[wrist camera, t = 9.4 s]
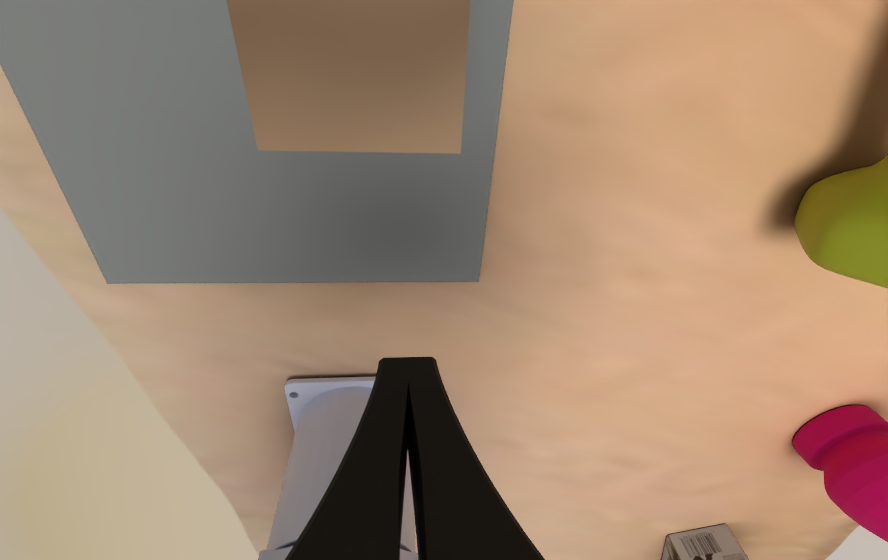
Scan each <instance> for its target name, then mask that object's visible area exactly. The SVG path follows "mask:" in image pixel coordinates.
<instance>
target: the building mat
mask: <svg viewBox="0 0 888 560" xmlns="http://www.w3.org/2000/svg"><path fill="white" fill-rule="evenodd" d="M512 7H513V0H470V13H469V29H468V45H467V61H466V76H465V92H464V108H463V124H462V139H461V154H457V153H393V152H328V151H263V150H258V148H257V144H256V139H255V134H254V129H253V125H252V120H251V115H250V110H249V106H248V101H247V96H246V91H245V87H244V82H243V77H242V72H241V68H240V63H239V58H238V53H237V49H236V44H235V39H234V34H233V29H232V25H231V20H230V15H229V10H228V6H227V1H226V0H0V64H1V67H2V69H3V71H4V73H5V75H6V77H7V79H8V81H9V83H10V85H11V87H12V89H13V91H14V93H15V95H16V97H17V99H18V101H19V103H20V106H21V108H22V110H23V112H24V114H25V116H26V118H27V120H28V122H29V124H30V126H31V128H32V130H33V132H34V134H35V136H36V138H37V140H38V142H39V145H40V147H41V149H42V151H43V153H44V155H45V157H46V159H47V161H48V163H49V165H50V167H51V169H52V171H53V173H54V175H55V177H56V179H57V182H58V184H59V186H60V188H61V190H62V192H63V194H64V196H65V198H66V200H67V202H68V204H69V206H70V208H71V210H72V212H73V214H74V216H75V218H76V221H77V223H78V225H79V227H80V229H81V231H82V233H83V235H84V237H85V239H86V241H87V243H88V245H89V247H90V249H91V251H92V253H93V255H94V257H95V260H96V262H97V264H98V266H99V268H100V270H101V272H102V274H103V276H104V278H105V280H106V282H107V284H128V283H323V282H479V276H480V268H481V259H482V251H483V243H484V235H485V227H486V219H487V211H488V202H489V194H490V186H491V178H492V170H493V162H494V154H495V146H496V137H497V129H498V121H499V113H500V105H501V97H502V89H503V80H504V72H505V64H506V56H507V48H508V40H509V32H510V23H511V15H512Z"/></svg>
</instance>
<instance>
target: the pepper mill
mask: <svg viewBox="0 0 888 560" xmlns="http://www.w3.org/2000/svg"><path fill="white" fill-rule="evenodd" d="M793 447H794V449H795V450H796V451H797V452H798V454H799V455H800V456H801V457H802V458H803V459H804V460H805V461H806V462H807V463H808V464H809V466H810V467H812V468H814V469H817V470H821V471H824V485H825V489H826V492H827V494H828V496H829V497H830V499H831V500H832V501H833V502H834V503H835V504H836V505H837V506H838V507H839V508H840V509H841V510H842V511H843V512H844V513H845V514H847V515H848V516H849V517H850V518H852V519H853V520H854V521H856V522H857V523H858V524H859V525H861V526H862V527H864V528H865V529H867V530H869V531H870V532H872V533H873V534H875V535H877V536H879V537H880V538H882V539H884V540H885V541H887V542H888V422H887V421H885V420H884V419H883V418H882V417H881V416H879V415H878V414H877V413H876V412H875V411H873V410H872V409H871V408H869V407H866V406H862V405H850V406H844V407H840V408H837V409H834V410H831V411H828V412H825V413H823V414H821V415H819V416H818V417H816V418H814V419H812V420H811V421H809V422H808V423H807V424H805V425H804V426H803V427H802V428H801V429H800V430H799V431H798V432H797V434H796V435H795V437H794V439H793Z"/></svg>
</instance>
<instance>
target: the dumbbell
mask: <svg viewBox="0 0 888 560" xmlns="http://www.w3.org/2000/svg"><path fill="white" fill-rule="evenodd" d="M794 223H795V230H796V233H797V236H798V238H799V241H800V243H801V245H802V247H803V249H804V251H805V253H806V254H807V255H808V257H809V258H810V259H811V260H812V261H813V262H814V263H816V264H817V265H818V266H820V267H822V268H824V269H826V270H829V271H832V272H835V273H838V274H841V275H844V276H847V277H850V278H854V279H857V280H861V281H864V282H868V283H871V284H875V285H878V286H882V287H885V288H888V155H887V156H886V157H884V158H883V159H882V160H881V161H879V162H878V163H876V164H874V165H873V166H868V167H863V168H858V169H854V170H849V171H846V172H842V173H839V174H836V175H833V176H830V177H827V178H825V179H823V180H821V181H819V182H817V183H815V184H813V185H812V186H811V187H810V188H809V189H808V190H807V191H806V193H805V195H804V196H803V198H802V200H801V202H800V205H799V208H798V211H797V213H796V216H795V222H794Z"/></svg>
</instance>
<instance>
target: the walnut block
mask: <svg viewBox="0 0 888 560" xmlns="http://www.w3.org/2000/svg"><path fill="white" fill-rule="evenodd" d="M226 1H227V6H228V10H229V15H230V20H231V25H232V29H233V34H234V39H235V44H236V49H237V53H238V58H239V63H240V68H241V72H242V77H243V82H244V87H245V91H246V96H247V101H248V106H249V110H250V115H251V120H252V125H253V129H254V134H255V139H256V144H257V148H258V150H263V151H328V152H393V153H457V154H461V139H462V124H463V108H464V92H465V76H466V61H467V45H468V29H469V13H470V0H226Z"/></svg>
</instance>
